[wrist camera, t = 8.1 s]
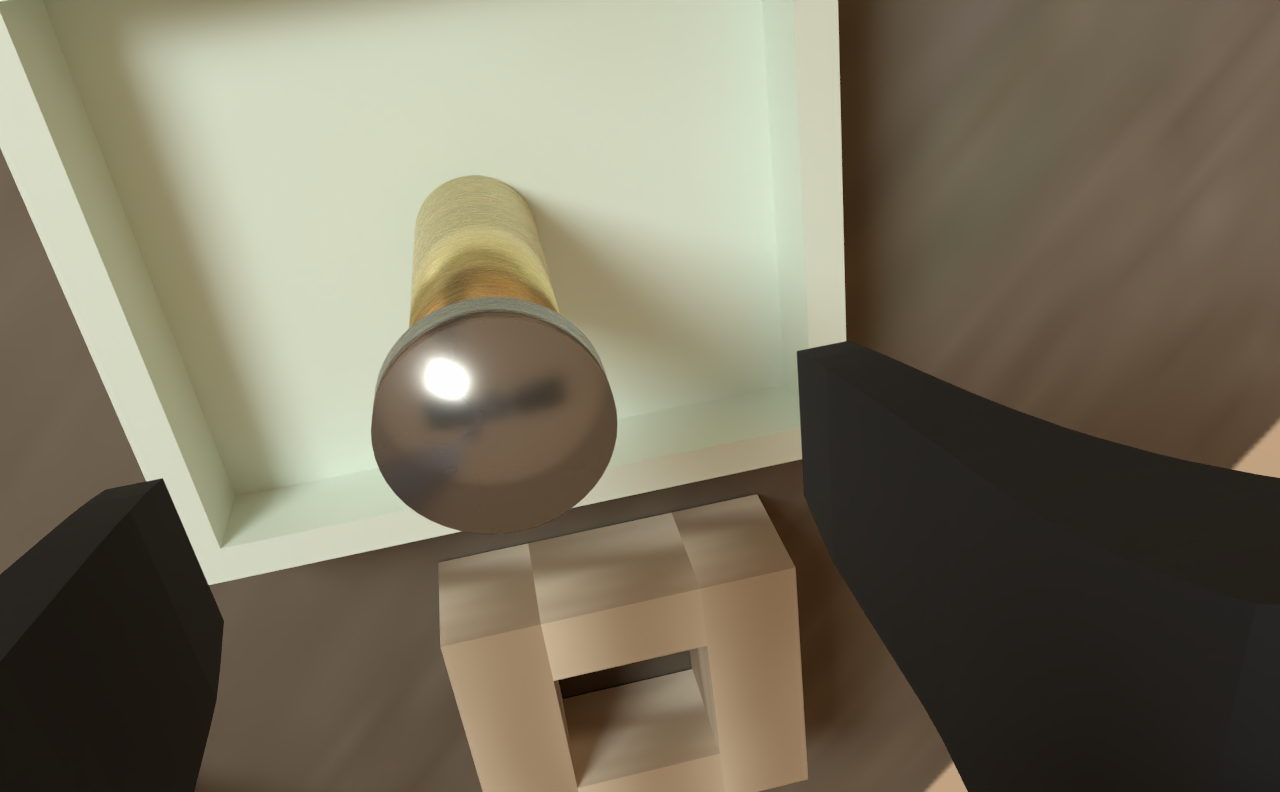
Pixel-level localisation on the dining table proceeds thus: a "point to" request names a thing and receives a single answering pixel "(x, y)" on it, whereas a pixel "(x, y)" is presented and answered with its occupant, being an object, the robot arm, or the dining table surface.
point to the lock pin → (489, 374)
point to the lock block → (631, 656)
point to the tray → (385, 226)
